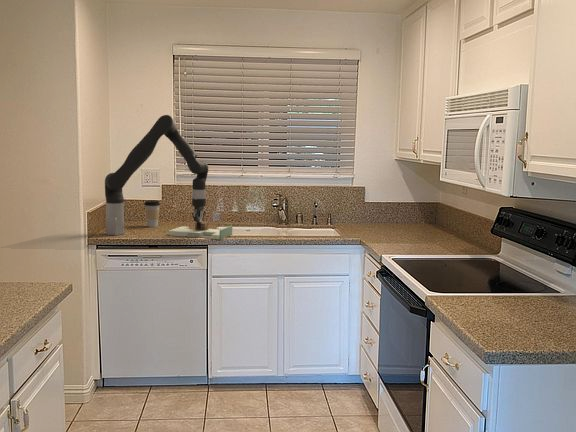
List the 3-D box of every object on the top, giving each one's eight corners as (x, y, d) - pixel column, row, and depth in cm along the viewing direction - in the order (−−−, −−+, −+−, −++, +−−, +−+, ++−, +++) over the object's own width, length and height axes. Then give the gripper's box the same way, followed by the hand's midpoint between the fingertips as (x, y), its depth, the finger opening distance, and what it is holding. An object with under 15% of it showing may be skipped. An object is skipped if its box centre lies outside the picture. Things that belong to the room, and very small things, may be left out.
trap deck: (221, 239, 315) (221, 230, 315) (168, 235, 324) (168, 226, 323) (232, 234, 331) (232, 225, 330) (181, 230, 339) (181, 222, 338)
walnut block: (204, 230, 327) (205, 223, 326) (195, 230, 328) (195, 222, 328) (209, 229, 333) (209, 222, 332) (199, 228, 334) (199, 221, 334)
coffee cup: (161, 227, 348) (161, 202, 346) (145, 228, 345) (145, 202, 342) (159, 224, 357) (158, 200, 355) (143, 225, 353) (142, 200, 351)
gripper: (197, 196, 330) (197, 226, 333) (187, 198, 318) (187, 230, 320) (210, 196, 328) (210, 227, 331) (200, 199, 316) (200, 231, 318)
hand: (198, 228), depth 325 cm, fingers closed
